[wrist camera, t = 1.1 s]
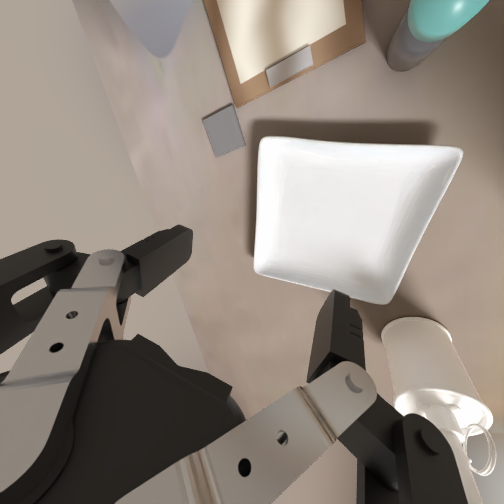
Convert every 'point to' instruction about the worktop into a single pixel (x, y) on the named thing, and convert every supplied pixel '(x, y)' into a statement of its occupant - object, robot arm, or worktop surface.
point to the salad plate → (346, 211)
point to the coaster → (224, 131)
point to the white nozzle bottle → (438, 390)
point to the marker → (428, 29)
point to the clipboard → (280, 39)
